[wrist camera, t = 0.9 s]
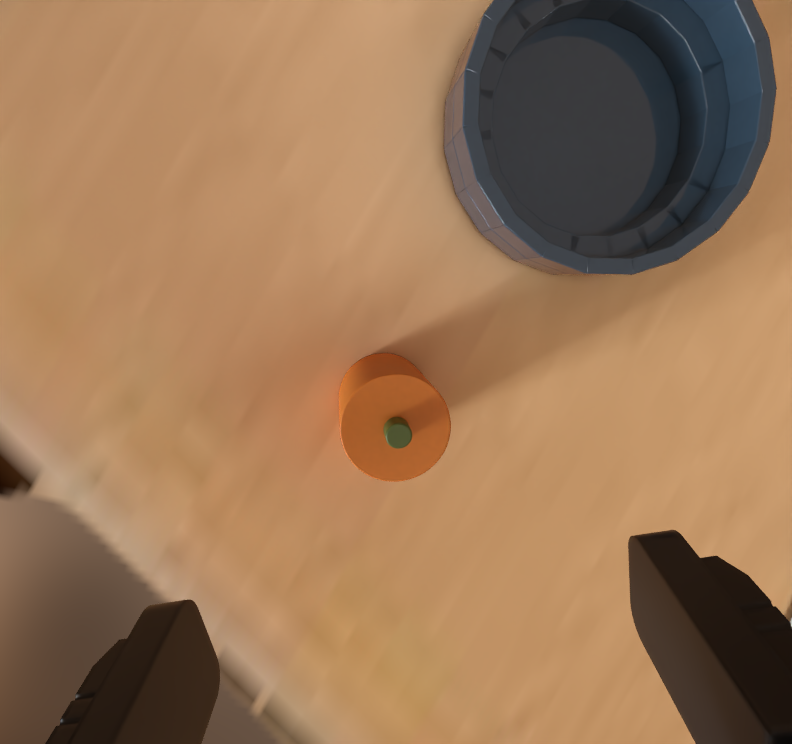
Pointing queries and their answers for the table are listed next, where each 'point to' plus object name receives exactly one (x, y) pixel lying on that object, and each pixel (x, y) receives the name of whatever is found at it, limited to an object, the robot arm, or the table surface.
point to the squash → (391, 418)
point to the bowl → (608, 127)
